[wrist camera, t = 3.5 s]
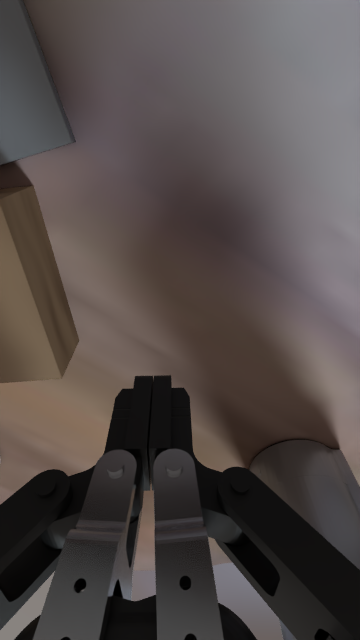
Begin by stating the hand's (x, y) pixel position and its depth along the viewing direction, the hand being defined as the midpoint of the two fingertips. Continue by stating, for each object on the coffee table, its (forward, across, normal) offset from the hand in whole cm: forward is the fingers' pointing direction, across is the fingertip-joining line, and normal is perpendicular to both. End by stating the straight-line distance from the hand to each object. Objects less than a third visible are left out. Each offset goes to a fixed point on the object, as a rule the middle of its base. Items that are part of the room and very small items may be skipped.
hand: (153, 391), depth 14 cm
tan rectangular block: (+12, +12, 0) cm, 17 cm away
